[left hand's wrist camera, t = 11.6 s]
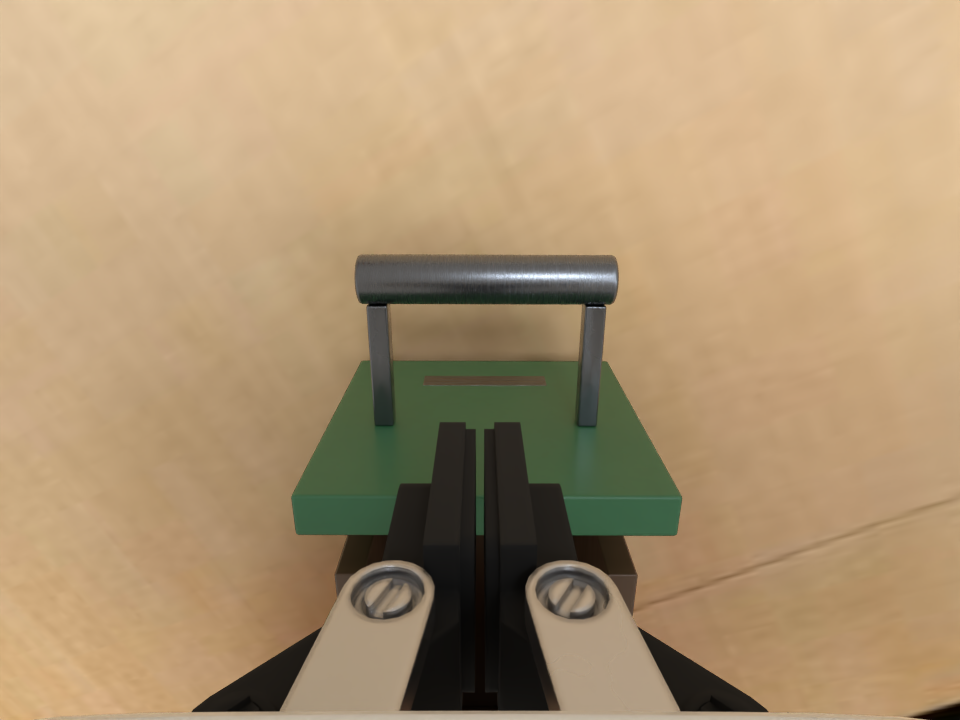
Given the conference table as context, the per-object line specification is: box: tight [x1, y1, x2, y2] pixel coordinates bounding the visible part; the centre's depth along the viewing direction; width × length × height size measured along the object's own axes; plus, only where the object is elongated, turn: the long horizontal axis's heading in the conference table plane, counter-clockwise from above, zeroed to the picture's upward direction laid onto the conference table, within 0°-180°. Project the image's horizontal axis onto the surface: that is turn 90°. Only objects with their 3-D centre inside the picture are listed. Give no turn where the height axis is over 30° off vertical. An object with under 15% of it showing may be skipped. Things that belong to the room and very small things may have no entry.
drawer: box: [291, 255, 682, 711], centre depth 21 cm, size 23×10×9 cm, turn 0°
